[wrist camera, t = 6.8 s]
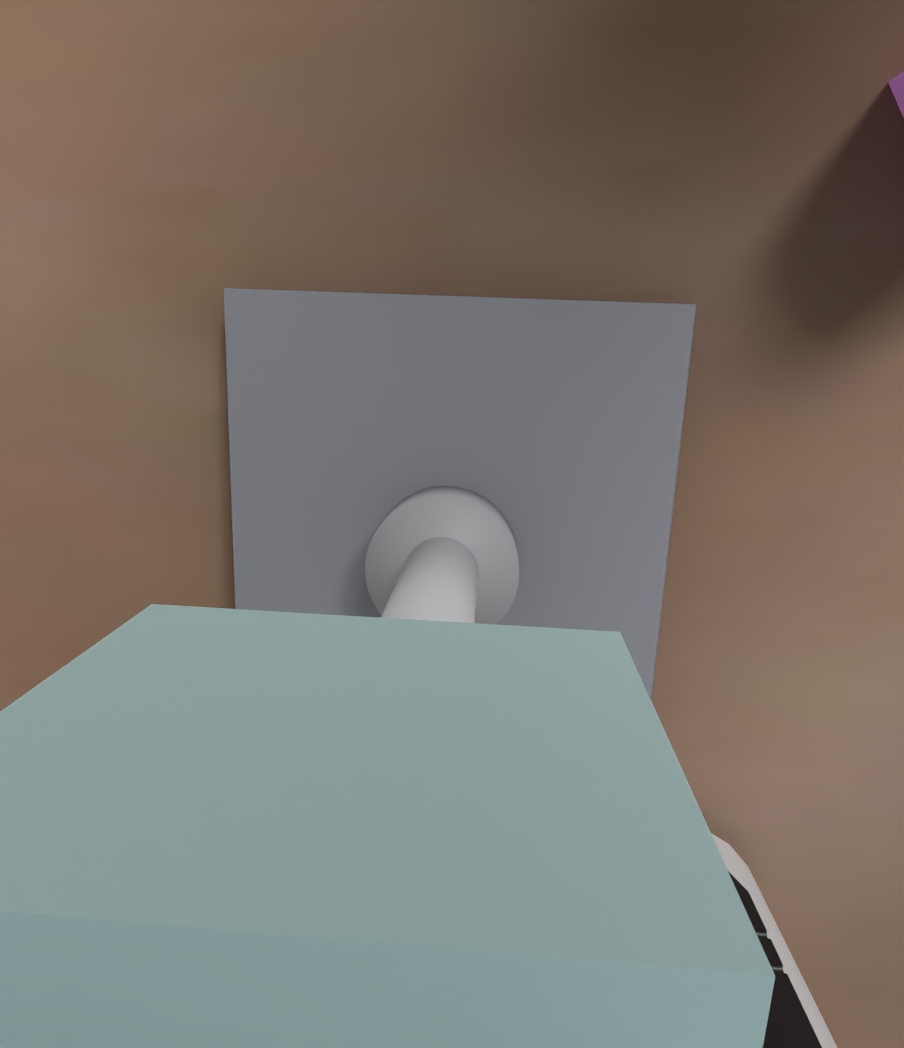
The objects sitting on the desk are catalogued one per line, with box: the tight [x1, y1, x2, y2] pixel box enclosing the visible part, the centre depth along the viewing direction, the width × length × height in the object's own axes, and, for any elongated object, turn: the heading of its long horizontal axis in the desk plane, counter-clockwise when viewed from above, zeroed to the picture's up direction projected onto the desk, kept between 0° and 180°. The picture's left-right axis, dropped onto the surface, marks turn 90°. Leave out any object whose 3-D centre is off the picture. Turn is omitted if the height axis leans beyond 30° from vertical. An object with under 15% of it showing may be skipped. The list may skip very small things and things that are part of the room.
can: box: [711, 834, 837, 1048], centre depth 20 cm, size 8×8×12 cm
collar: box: [0, 604, 775, 1048], centre depth 7 cm, size 6×6×5 cm
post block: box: [224, 288, 696, 699], centre depth 19 cm, size 16×14×10 cm
